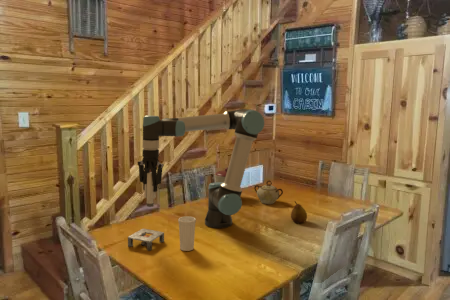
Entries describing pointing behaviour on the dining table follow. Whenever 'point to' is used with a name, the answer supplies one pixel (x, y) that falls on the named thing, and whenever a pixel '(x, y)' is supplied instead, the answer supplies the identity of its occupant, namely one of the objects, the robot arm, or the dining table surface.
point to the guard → (146, 238)
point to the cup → (187, 232)
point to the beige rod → (149, 190)
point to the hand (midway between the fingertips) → (150, 197)
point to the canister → (220, 175)
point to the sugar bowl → (268, 193)
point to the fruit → (298, 214)
